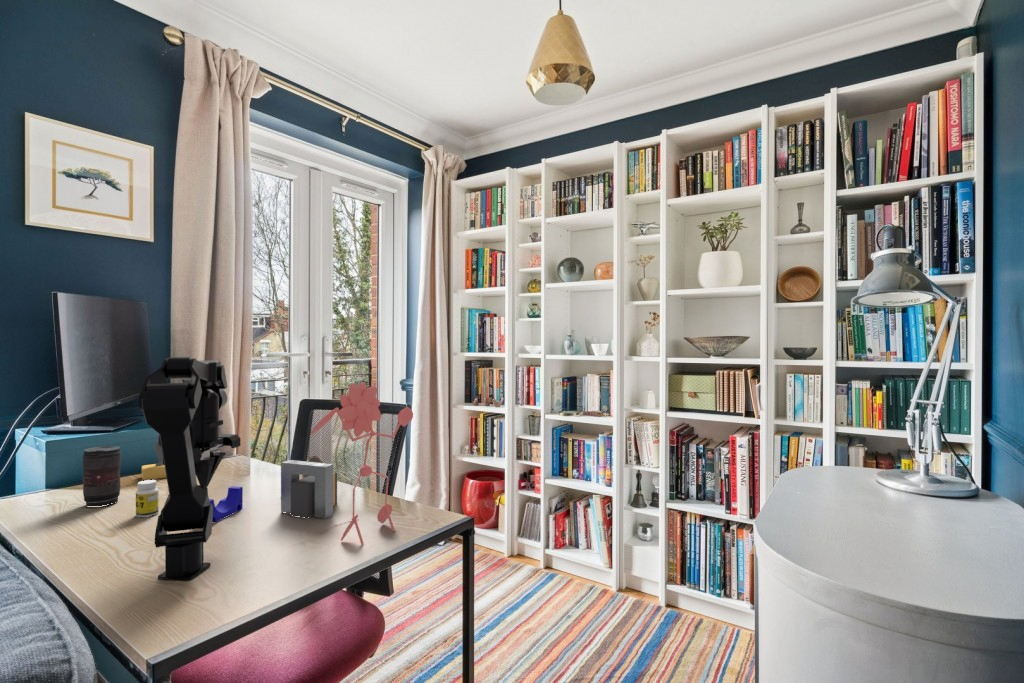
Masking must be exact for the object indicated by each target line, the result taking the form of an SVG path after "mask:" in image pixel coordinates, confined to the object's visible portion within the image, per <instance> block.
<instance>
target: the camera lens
mask: <svg viewBox="0 0 1024 683" xmlns="http://www.w3.org/2000/svg"><path fill="white" fill-rule="evenodd" d="M121 465H122V452H121V447H120V446H118V445H117V446H116V445H115V446H113V445H103V446H96V447H89V448H85V449H84V450H83V454H82V471H83V476H82V477H81V479H82V480H81V482H82V483H83V485H82V486H83V487H82V493H83V494H82V495H83V501H84V502H85V506H86V505H87V506H102V505H107V504H111V503H115V502H116V503H118V502H119V496H120V494H121ZM116 503H115V504H116ZM87 506H86V507H87Z"/></svg>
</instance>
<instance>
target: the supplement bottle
mask: <svg viewBox="0 0 1024 683" xmlns="http://www.w3.org/2000/svg"><path fill="white" fill-rule="evenodd" d="M157 484H158V483H157V479H152V480H144V481H143V480H141V481H138V482H137V486H136V487H137V490H136V491H135V516H136V517H137V518H140V517H144V518H148V517H147V516H150V517H153V516H152V515H154V516H156V515H157V513H158V514H159V508H160V507H159V505H160V504H159V502H160V501H159V500H160V499H159V491H160V490H159V488H158V485H157ZM155 514H156V515H155Z"/></svg>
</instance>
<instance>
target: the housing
mask: <svg viewBox="0 0 1024 683" xmlns="http://www.w3.org/2000/svg"><path fill="white" fill-rule="evenodd" d="M333 472H334V463H326V462H325V463H324V462H323V463H316V462H308V461H303V460H294V459H288V460H284V461H281V462H280V513H281V512H286V513H291V483H292V482H295V481H297V480H300V475H301V476H302V475H311V476H315V515H314V518H315V517H318V518H317V519H321V518H327V519H328V518H330V517H332V516H334V506H333ZM331 515H332V516H331ZM329 516H330V517H329Z"/></svg>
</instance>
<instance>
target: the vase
mask: <svg viewBox="0 0 1024 683" xmlns="http://www.w3.org/2000/svg"><path fill="white" fill-rule="evenodd" d="M307 462H316V463H324V462H323V461H322V460H321V458H320V456H319V455H311V456H310V457H309V459H308V460H307ZM301 476H302V479H303V478H305V477H308V476H310V475H302V474H301Z"/></svg>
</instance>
